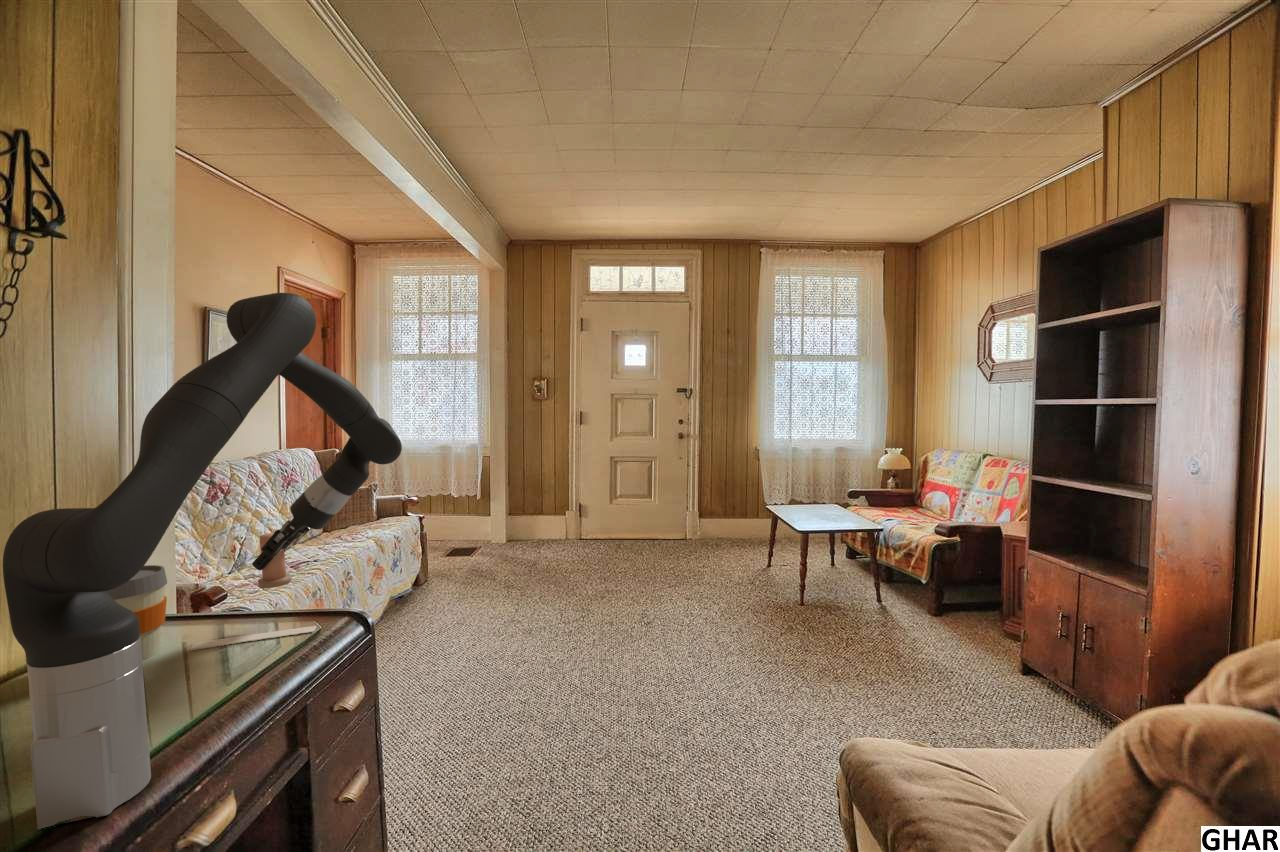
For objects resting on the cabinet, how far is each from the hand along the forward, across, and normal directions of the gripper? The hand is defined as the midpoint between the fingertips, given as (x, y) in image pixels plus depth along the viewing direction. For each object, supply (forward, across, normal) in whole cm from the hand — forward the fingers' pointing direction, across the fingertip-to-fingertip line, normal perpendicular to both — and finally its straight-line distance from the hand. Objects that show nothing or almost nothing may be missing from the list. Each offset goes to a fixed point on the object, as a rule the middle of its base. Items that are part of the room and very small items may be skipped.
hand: (262, 563), depth 114 cm
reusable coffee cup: (+22, +10, -4) cm, 25 cm away
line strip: (+8, +6, +10) cm, 14 cm away
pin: (+2, 0, +4) cm, 5 cm away
